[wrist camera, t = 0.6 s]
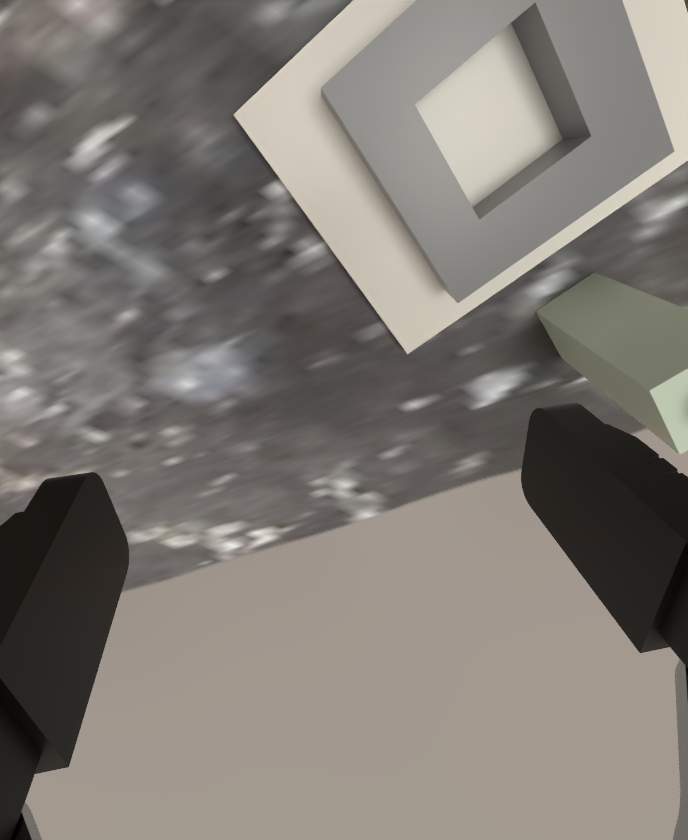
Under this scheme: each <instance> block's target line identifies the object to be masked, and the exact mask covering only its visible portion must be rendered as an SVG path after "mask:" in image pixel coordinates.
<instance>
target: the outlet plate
mask: <svg viewBox="0 0 688 840" xmlns="http://www.w3.org/2000/svg"><path fill="white" fill-rule="evenodd" d="M234 116H235V118H236V119H237V120H238V122H239V123H240V125H241V126H242V127H243V129H244V130H245V131H246V133H247V134H248V136H249V137H250V138H251V140H252V141H253V142H254V144H255V145H256V147H257V148H258V149H259V151H260V152H261V153H262V155H263V156H264V158H265V159H266V160H267V162H268V163H269V164H270V166H271V167H272V169H273V170H274V171H275V173H276V174H277V175H278V177H279V178H280V180H281V181H282V182H283V184H284V185H285V186H286V188H287V189H288V191H289V192H290V193H291V195H292V196H293V197H294V199H295V200H296V202H297V203H298V204H299V206H300V207H301V208H302V210H303V211H304V213H305V214H306V215H307V217H308V218H309V219H310V221H311V222H312V224H313V225H314V226H315V228H316V229H317V230H318V232H319V233H320V235H321V236H322V237H323V239H324V240H325V241H326V243H327V244H328V246H329V247H330V248H331V250H332V251H333V252H334V254H335V255H336V257H337V258H338V259H339V261H340V262H341V263H342V265H343V266H344V268H345V269H346V270H347V272H348V273H349V274H350V276H351V277H352V279H353V280H354V281H355V283H356V284H357V285H358V287H359V288H360V290H361V291H362V292H363V294H364V295H365V296H366V298H367V299H368V301H369V302H370V303H371V305H372V306H373V307H374V309H375V310H376V312H377V313H378V314H379V316H380V317H381V318H382V320H383V321H384V323H385V324H386V325H387V327H388V328H389V329H390V331H391V332H392V334H393V335H394V336H395V338H396V339H397V340H398V342H399V343H400V345H401V346H402V347H403V349H404V350H405V351H406V353H407V354H409V353H410V352H411V351H413V350H414V349H416V348H417V347H419V346H420V345H422V344H423V343H424V342H426V341H427V340H429V339H430V338H432V337H433V336H435V335H436V334H437V333H439V332H440V331H442V330H443V329H445V328H446V327H448V326H449V325H450V324H452V323H453V322H455V321H456V320H458V319H459V318H461V317H462V316H463V315H465V314H466V313H468V312H469V311H471V310H472V309H474V308H475V307H477V306H478V305H479V304H481V303H482V302H484V301H485V300H487V299H488V298H490V297H491V296H492V295H494V294H495V293H497V292H498V291H500V290H501V289H503V288H504V287H505V286H507V285H508V284H510V283H511V282H513V281H514V280H516V279H517V278H518V277H520V276H521V275H523V274H524V273H526V272H527V271H529V270H530V269H531V268H533V267H534V266H536V265H537V264H539V263H540V262H542V261H543V260H544V259H546V258H547V257H549V256H550V255H552V254H553V253H555V252H556V251H557V250H559V249H560V248H562V247H563V246H565V245H566V244H568V243H569V242H570V241H572V240H573V239H575V238H576V237H578V236H579V235H581V234H582V233H584V232H585V231H586V230H588V229H589V228H591V227H592V226H594V225H595V224H597V223H598V222H599V221H601V220H602V219H604V218H605V217H607V216H608V215H610V214H611V213H612V212H614V211H615V210H617V209H618V208H620V207H621V206H623V205H624V204H625V203H627V202H628V201H630V200H631V199H633V198H634V197H636V196H637V195H638V194H640V193H641V192H643V191H644V190H646V189H647V188H649V187H650V186H651V185H653V184H654V183H656V182H657V181H659V180H660V179H662V178H663V177H664V176H666V175H667V174H669V173H670V172H672V171H673V170H675V169H676V168H678V167H679V166H680V165H682V164H683V163H685V162H686V161H688V12H687V9H686V6H685V2H684V0H353V1H352V2H351V3H350V4H349V5H348V6H347V7H346V8H345V9H344V10H343V11H342V12H340V13H339V14H338V15H337V16H336V17H335V18H334V19H333V20H332V21H331V22H330V23H329V24H328V25H327V26H326V27H325V28H324V29H323V30H322V31H321V32H319V33H318V34H317V35H316V36H315V37H314V38H313V39H312V40H311V41H310V42H309V43H308V44H307V45H306V46H305V47H304V48H303V49H302V50H301V51H300V52H299V53H297V54H296V55H295V56H294V57H293V58H292V59H291V60H290V61H289V62H288V63H287V64H286V65H285V66H284V67H283V68H282V69H281V70H280V71H279V72H278V73H277V74H275V75H274V76H273V77H272V78H271V79H270V80H269V81H268V82H267V83H266V84H265V85H264V86H263V87H262V88H261V89H260V90H259V91H258V92H257V93H256V94H254V95H253V96H252V97H251V98H250V99H249V100H248V101H247V102H246V103H245V104H244V105H243V106H242V107H241V108H240V109H239V110H238V111H237V112H236V113H235V114H234Z"/></svg>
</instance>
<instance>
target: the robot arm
mask: <svg viewBox="0 0 688 840" xmlns="http://www.w3.org/2000/svg"><path fill="white" fill-rule="evenodd" d="M521 482H522V488H523V492H524V495H525V498H526V500H527V502H528V504H529V505H530V506H531V508H532V509H533V511H534V512H535V513H536V515H537V516H538V517H539V519H540V520H541V521H542V523H543V524H544V525H545V527H546V528H547V529H548V531H549V532H550V533H551V534H552V536H553V537H554V539H555V540H556V541H557V543H558V544H559V545H560V547H561V548H562V549H563V551H564V552H565V553H566V555H567V556H568V557H569V559H570V560H571V561H572V562H573V564H574V566H575V567H576V568H577V570H578V571H579V572H580V574H581V575H582V576H583V578H584V579H585V580H586V581H587V583H588V584H589V586H590V587H591V588H592V590H593V591H594V592H595V594H596V595H597V596H598V598H599V599H600V600H601V602H602V603H603V604H604V606H605V607H606V608H607V609H608V611H609V612H610V613H611V615H612V616H613V617H614V619H615V620H616V622H617V623H618V624H619V626H620V627H621V628H622V630H623V631H624V632H625V634H626V635H627V636H628V638H629V639H630V640H631V642H632V643H633V644H634V646H635V647H636V648H637V650H638V651H639V652H640V653H643V652H648V651H652V650H657V649H662V648H667V647H671V648H672V650H673V651H674V652H675V653H676V654H677V656H678V657H679V658H680V660H679V662H678V664H677V667H676V669H675V686H676V707H677V729H678V750H679V770H680V809H679V815H678V820H677V824H676V827H675V832H674V836H673V840H688V477H687V476H685V475H684V474H683V473H680V474H679V473H678V472H677V469H676V468H675V467H674V466H673V465H671V464H670V463H669V462H668V461H666V460H665V459H664V458H659V454H657V453H656V452H655V451H653V450H652V449H651V448H649V447H648V446H647V445H646V444H645V443H643V442H642V441H641V440H639V439H638V438H637V437H635V436H633V435H630V434H628V433H626V432H624V431H622V430H619V429H617V428H615V427H613V426H610V425H608V424H606V425H605V424H604V423H603V422H601V421H600V420H599V419H598V418H597V417H595V416H594V415H593V414H592V413H590V412H589V411H588V410H587V409H586V408H584V407H583V406H582V405H580V404H578V403H570V404H563V405H556V406H549V407H543V408H537V409H535V410H534V411H533V412H532V414H531V416H530V420H529V426H528V432H527V439H526V445H525V452H524V458H523V465H522V472H521ZM128 565H129V548H128V542H127V538H126V535H125V533H124V530H123V528H122V526H121V523H120V521H119V518H118V516H117V514H116V511H115V509H114V507H113V504H112V502H111V499H110V497H109V495H108V492H107V490H106V488H105V485H104V483H103V481H102V479H101V478H100V476H99V475H98V474H96V473H94V472H91V473H84V474H77V475H70V476H63V477H57V478H50V479H46V480H45V481H44V482H43V483H42V484H41V485H40V487H39V489H38V490H37V492H36V493H35V495H34V497H33V498H32V500H31V501H30V503H29V505H28V506H27V508H26V509H25V511H24V512H19V513H15V514H14V515H13V516H12V517H11V518H9V519H8V520H7V521H6V522H5V523H4V524H2V525H1V526H0V840H42V839H41V836H40V834H39V831H38V828H37V825H36V823H35V820H34V818H33V815H32V813H31V810H30V809H29V807H28V805H27V804H26V803H25V800H26V797H27V794H28V791H29V788H30V786H31V782H32V780H33V777H34V774H37V773H42V772H46V771H51V770H56V769H61V768H66V767H69V764H70V761H71V758H72V754H73V751H74V748H75V744H76V741H77V737H78V734H79V731H80V728H81V724H82V720H83V718H84V714H85V711H86V707H87V704H88V701H89V698H90V694H91V691H92V687H93V684H94V681H95V678H96V674H97V671H98V667H99V664H100V661H101V658H102V654H103V650H104V647H105V644H106V641H107V637H108V634H109V630H110V627H111V624H112V621H113V617H114V614H115V611H116V607H117V604H118V601H119V597H120V594H121V591H122V587H123V584H124V581H125V577H126V574H127V570H128Z"/></svg>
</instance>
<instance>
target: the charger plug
mask: <svg viewBox="0 0 688 840" xmlns="http://www.w3.org/2000/svg"><path fill="white" fill-rule="evenodd" d="M536 313H537V315H538V317H539V318H540V320H541V322H542V324H543V326H544V327H545V329H546V331H547V333H548V335H549V336H550V338H551V340H552V342H553V344H554V345H555V347H556V349H557V351H558V353H559V354H560V356H561V358H562V359H563V360H564V361H566V362H567V363H568V364H569V365H571V366H572V367H573V368H574V369H576V370H577V371H578V372H579V373H580V374H582V375H583V376H584V377H585V378H587V379H588V380H589V381H590V382H591V383H593V384H594V385H595V386H596V387H598V388H599V389H600V390H601V391H602V392H604V393H605V394H606V395H607V396H609V397H610V398H611V399H612V400H613V401H615V402H616V403H617V404H618V405H620V406H621V407H622V408H623V409H624V410H626V411H627V412H628V413H629V414H631V415H632V416H633V417H634V418H636V419H637V420H638V421H639V422H640V423H642V424H643V425H644V426H645V427H647V428H648V429H649V430H650V431H652V432H653V433H654V434H655V435H656V436H658V437H659V438H660V439H661V440H662V441H664V442H665V443H666V444H667V445H669V446H670V447H671V448H672V449H674V450H675V451H676V452H677V453H678V454H682V453H684V452H686V451H687V450H688V310H687V309H685V308H682V307H680V306H677V305H675V304H672V303H670V302H667V301H665V300H662V299H660V298H657V297H655V296H652V295H650V294H647V293H645V292H642V291H640V290H637V289H635V288H632V287H630V286H627V285H625V284H622V283H620V282H617V281H615V280H612V279H610V278H607V277H605V276H602V275H600V274H598V273H595V272H594V273H592V274H591V275H589V276H588V277H586V278H585V279H583V280H582V281H580V282H579V283H577V284H576V285H574V286H573V287H571V288H570V289H568V290H567V291H565V292H564V293H562V294H561V295H559V296H558V297H556V298H555V299H553V300H552V301H550V302H549V303H547V304H546V305H544V306H543V307H541V308H540V309H538V310H537V311H536Z"/></svg>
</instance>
